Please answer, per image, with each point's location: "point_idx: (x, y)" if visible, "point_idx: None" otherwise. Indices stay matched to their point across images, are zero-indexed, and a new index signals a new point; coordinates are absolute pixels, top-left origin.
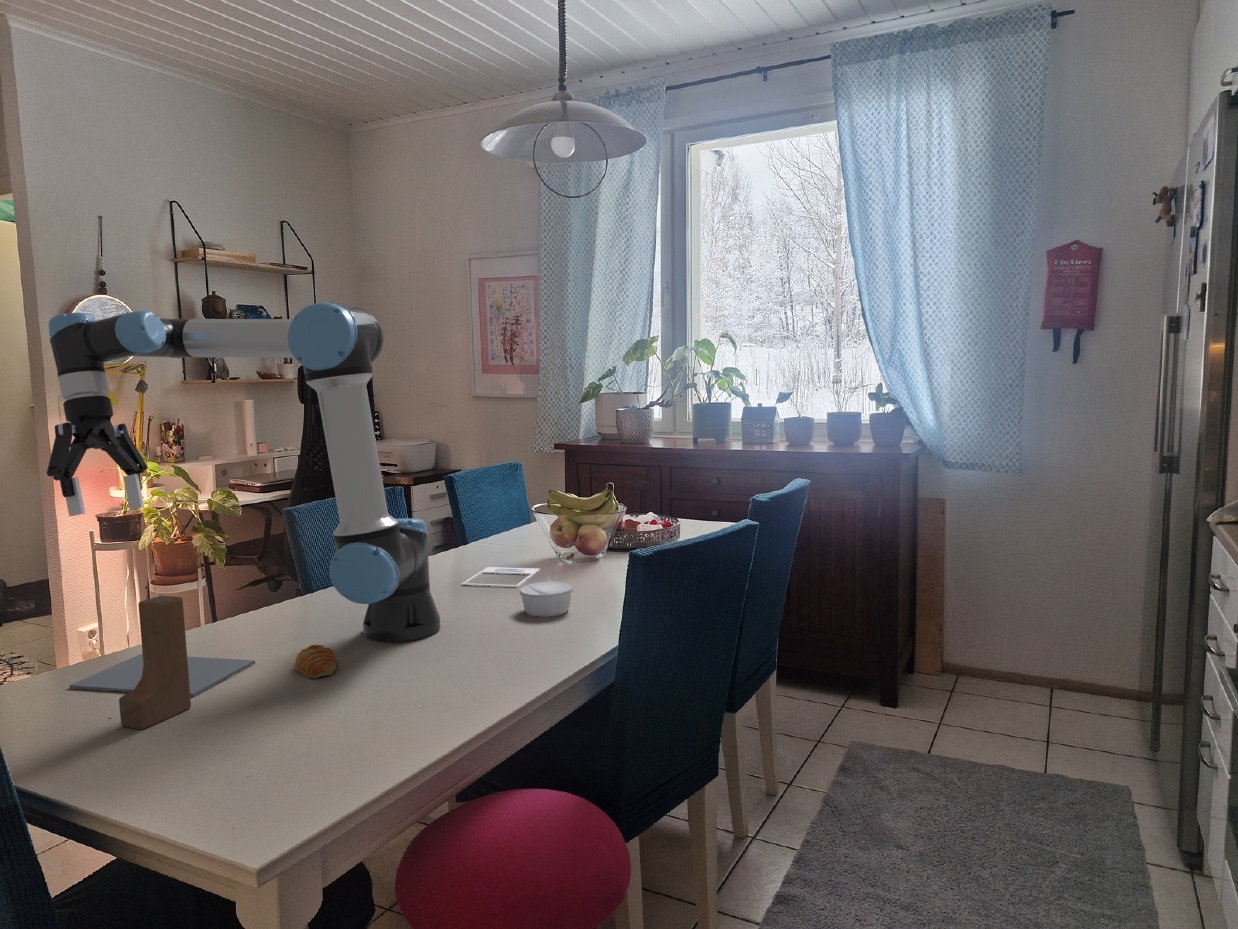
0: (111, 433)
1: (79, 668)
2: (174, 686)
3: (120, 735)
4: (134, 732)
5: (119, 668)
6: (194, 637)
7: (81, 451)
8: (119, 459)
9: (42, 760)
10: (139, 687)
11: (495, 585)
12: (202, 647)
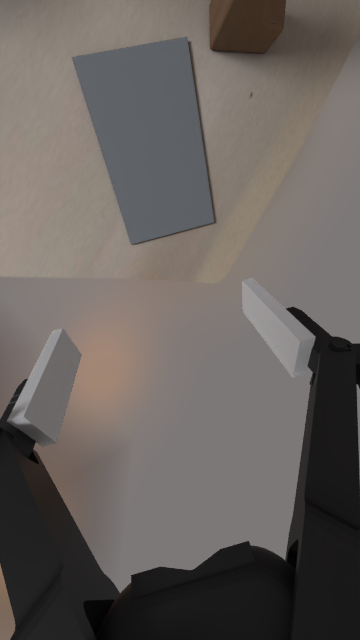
0: None
1: (176, 270)
2: None
3: None
4: None
5: (168, 220)
6: (60, 252)
7: (338, 467)
8: (51, 505)
9: (329, 60)
10: (268, 11)
11: None
12: (75, 207)
